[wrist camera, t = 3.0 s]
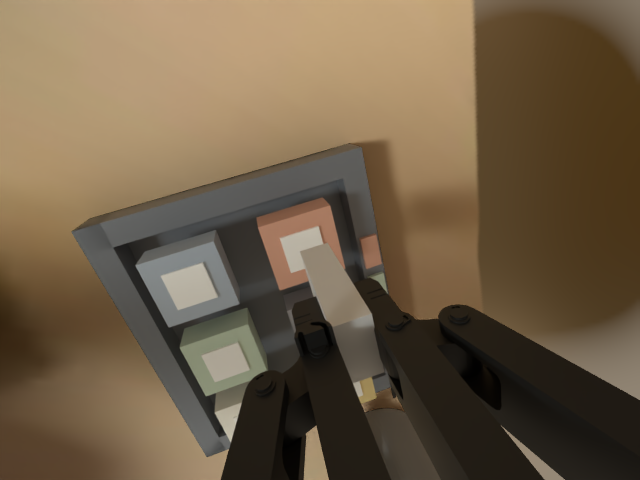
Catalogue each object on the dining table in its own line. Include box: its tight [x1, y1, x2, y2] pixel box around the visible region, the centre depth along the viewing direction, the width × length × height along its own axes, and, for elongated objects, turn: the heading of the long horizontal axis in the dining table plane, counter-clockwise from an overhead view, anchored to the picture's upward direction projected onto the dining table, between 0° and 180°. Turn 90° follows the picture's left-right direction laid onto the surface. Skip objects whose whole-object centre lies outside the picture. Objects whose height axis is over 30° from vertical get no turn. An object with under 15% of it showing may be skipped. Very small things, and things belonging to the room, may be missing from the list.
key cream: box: [215, 380, 251, 442], centre depth 25 cm, size 4×4×2 cm
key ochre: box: [353, 377, 377, 404], centre depth 26 cm, size 4×4×2 cm
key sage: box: [180, 308, 268, 396], centre depth 23 cm, size 4×4×2 cm
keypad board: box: [72, 143, 391, 457], centre depth 25 cm, size 18×21×3 cm
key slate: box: [135, 230, 240, 327], centre depth 20 cm, size 4×4×2 cm
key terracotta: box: [256, 197, 345, 290], centre depth 21 cm, size 4×4×2 cm
